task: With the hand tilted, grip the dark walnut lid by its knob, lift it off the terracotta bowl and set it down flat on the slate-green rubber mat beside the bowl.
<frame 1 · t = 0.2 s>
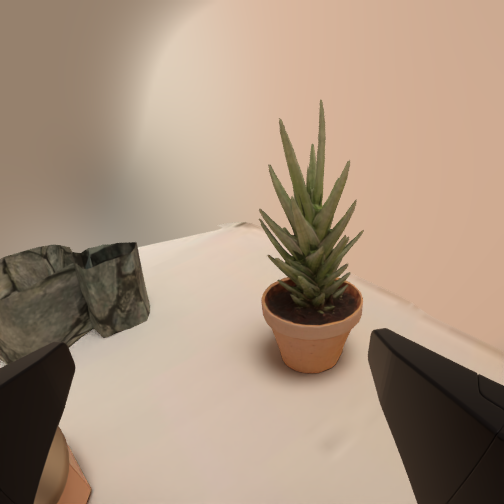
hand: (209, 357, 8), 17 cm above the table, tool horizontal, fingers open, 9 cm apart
stone wall: (39, 333, 38), on the table
terracotta bowl: (26, 493, 15), on the table
potted plant: (312, 356, 33), on the table
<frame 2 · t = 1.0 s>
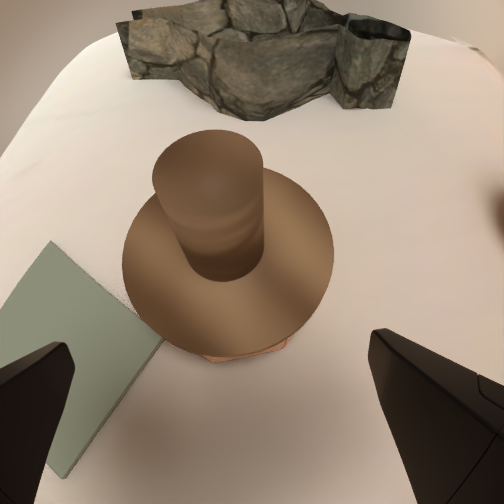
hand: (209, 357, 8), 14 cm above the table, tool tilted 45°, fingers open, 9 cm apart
stone wall: (257, 79, 37), on the table
rubber mat: (49, 353, 22), on the table
walnut lid: (226, 252, 21), point 4 cm above the table, touching terracotta bowl
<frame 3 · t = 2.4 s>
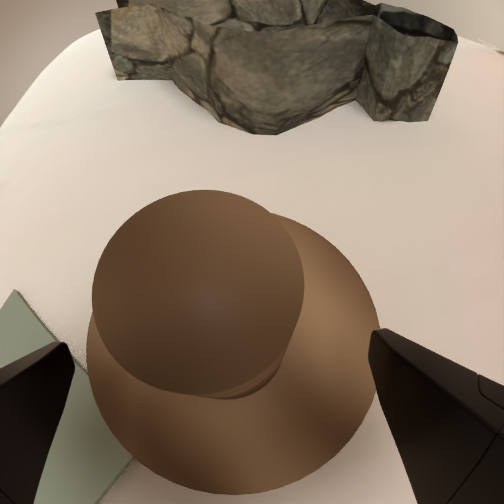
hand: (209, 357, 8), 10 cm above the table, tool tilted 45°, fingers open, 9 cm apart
stone wall: (267, 79, 30), on the table
rubber mat: (21, 429, 15), on the table
walnut lid: (229, 347, 14), point 4 cm above the table, touching terracotta bowl
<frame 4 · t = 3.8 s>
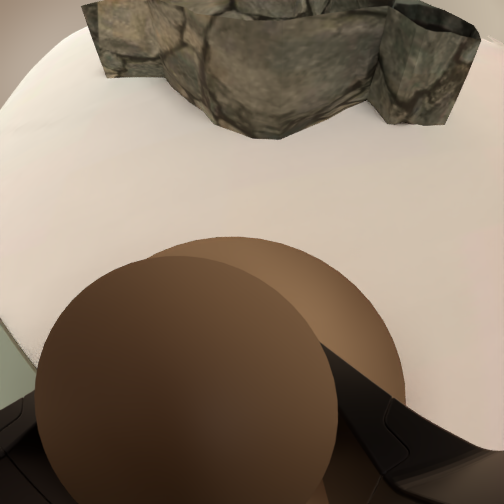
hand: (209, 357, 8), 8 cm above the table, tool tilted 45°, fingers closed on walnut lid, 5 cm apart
stone wall: (269, 77, 27), on the table
rubber mat: (8, 463, 13), on the table
walnut lid: (227, 405, 11), point 4 cm above the table, touching gripper, terracotta bowl
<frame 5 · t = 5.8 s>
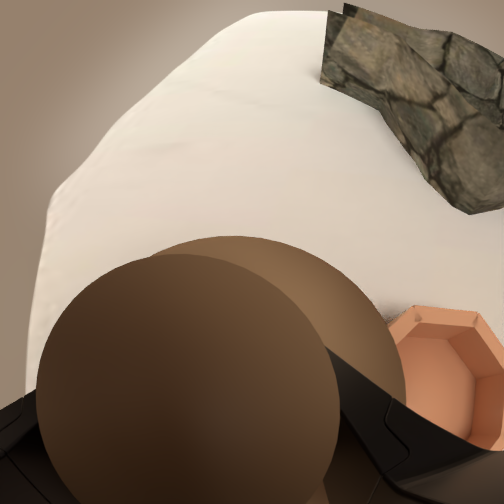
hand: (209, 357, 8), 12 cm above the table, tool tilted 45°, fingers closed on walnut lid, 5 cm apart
stone wall: (460, 149, 29), on the table
terracotta bowl: (412, 409, 18), on the table
walnut lid: (228, 404, 11), point 9 cm above the table, touching gripper
when the fingers open (6 cm above the table, at t = 8.0 s): walnut lid drops 2 cm, resting on rubber mat.
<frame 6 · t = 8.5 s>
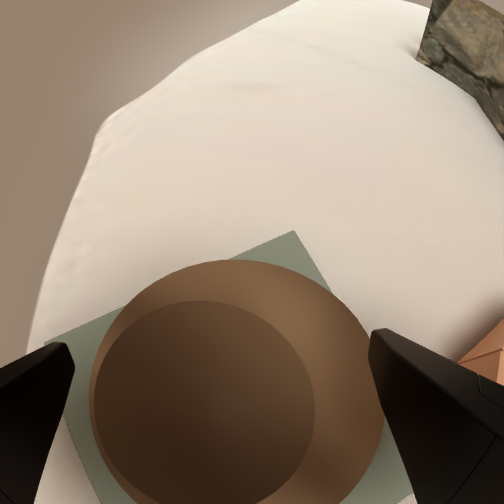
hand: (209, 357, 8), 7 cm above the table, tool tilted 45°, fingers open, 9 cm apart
rubber mat: (223, 431, 13), on the table
walnut lid: (232, 404, 13), point 1 cm above the table, touching rubber mat
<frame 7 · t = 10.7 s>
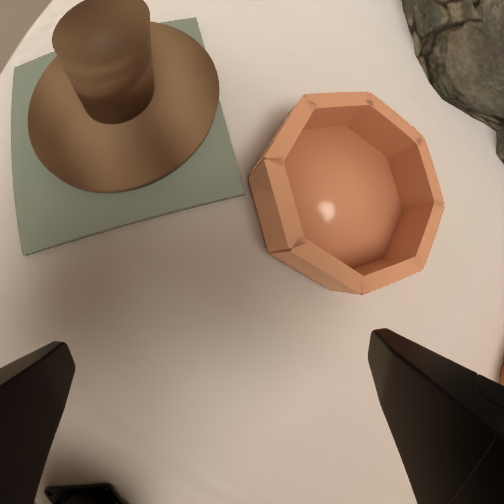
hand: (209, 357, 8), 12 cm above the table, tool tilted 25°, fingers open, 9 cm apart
stone wall: (458, 62, 28), on the table
rubber mat: (109, 118, 19), on the table
terracotta bowl: (336, 197, 22), on the table
walnut lid: (120, 99, 19), point 1 cm above the table, touching rubber mat
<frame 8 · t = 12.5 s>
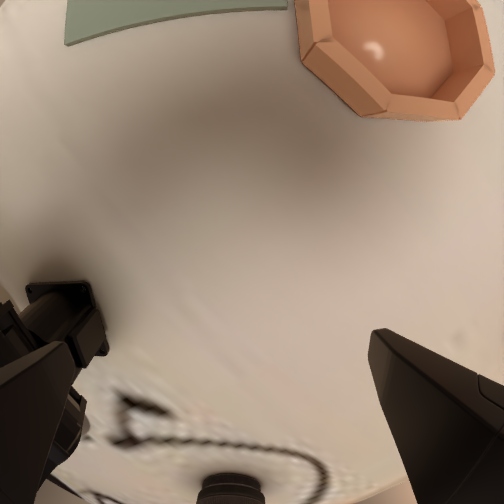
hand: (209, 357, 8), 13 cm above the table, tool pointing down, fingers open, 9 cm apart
dark grey cylinder: (231, 484, 31), on the table
terracotta bowl: (384, 36, 17), on the table
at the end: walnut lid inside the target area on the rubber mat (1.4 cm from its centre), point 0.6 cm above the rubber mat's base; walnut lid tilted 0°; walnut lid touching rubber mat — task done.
